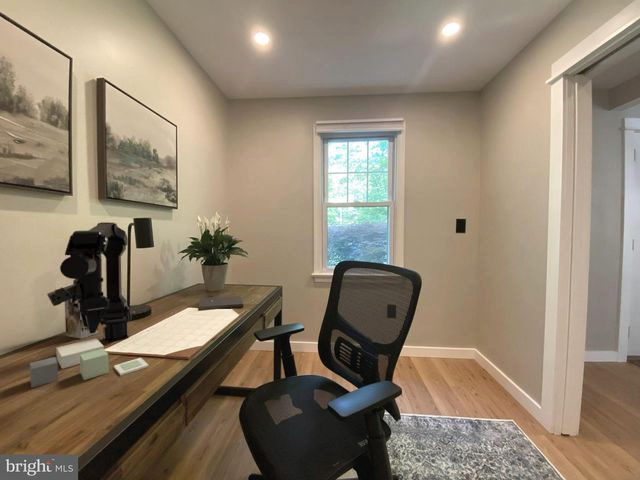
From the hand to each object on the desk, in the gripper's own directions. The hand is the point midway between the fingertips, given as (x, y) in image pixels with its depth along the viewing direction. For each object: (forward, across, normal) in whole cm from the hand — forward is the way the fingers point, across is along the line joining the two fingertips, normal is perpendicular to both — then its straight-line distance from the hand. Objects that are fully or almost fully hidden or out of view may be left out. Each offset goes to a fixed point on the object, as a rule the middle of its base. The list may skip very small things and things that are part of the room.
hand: (89, 329), depth 79 cm
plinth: (+12, -15, 0) cm, 20 cm away
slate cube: (+13, -5, -9) cm, 16 cm away
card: (+13, +4, +9) cm, 16 cm away
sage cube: (+13, 0, +1) cm, 13 cm away
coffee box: (+11, -40, +4) cm, 42 cm away
